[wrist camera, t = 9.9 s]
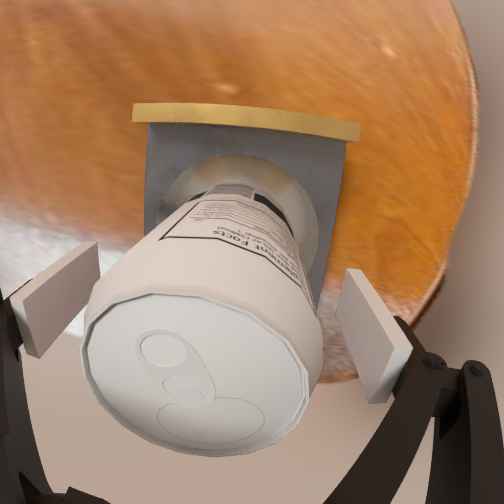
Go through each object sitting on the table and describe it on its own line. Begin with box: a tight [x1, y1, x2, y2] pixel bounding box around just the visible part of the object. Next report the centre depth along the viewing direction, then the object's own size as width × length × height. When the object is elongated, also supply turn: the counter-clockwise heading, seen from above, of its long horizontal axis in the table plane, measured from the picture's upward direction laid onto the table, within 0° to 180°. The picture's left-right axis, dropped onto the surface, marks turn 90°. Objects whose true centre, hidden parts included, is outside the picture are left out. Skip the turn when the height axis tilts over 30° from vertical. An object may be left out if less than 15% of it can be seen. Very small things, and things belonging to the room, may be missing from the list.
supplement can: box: [79, 182, 323, 457], centre depth 15 cm, size 8×8×15 cm
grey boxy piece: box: [132, 103, 361, 311], centre depth 23 cm, size 14×18×8 cm
